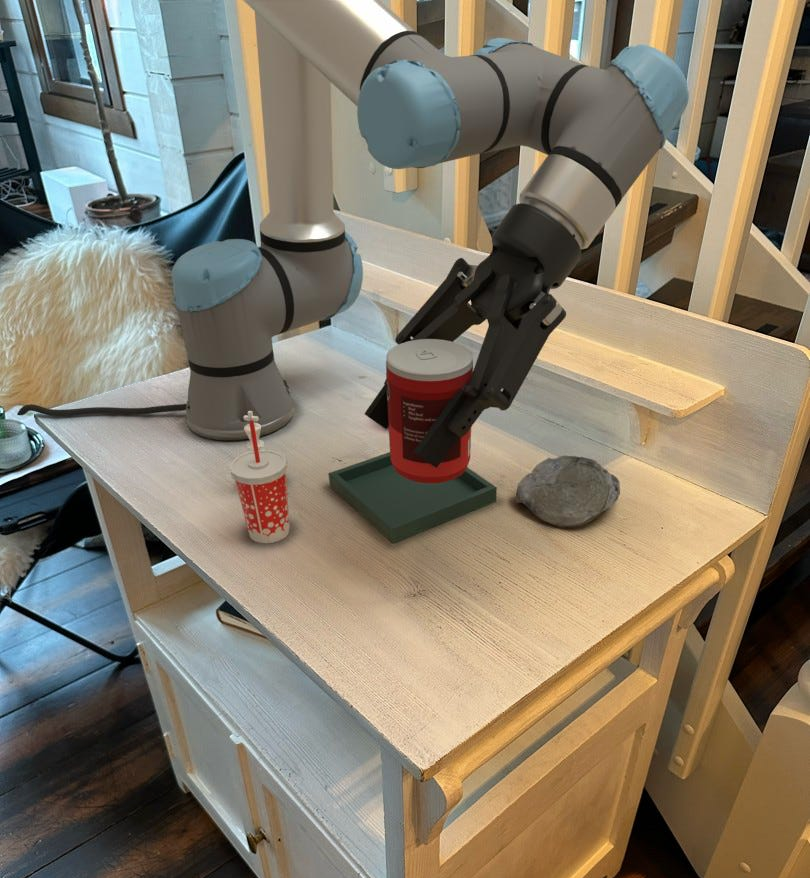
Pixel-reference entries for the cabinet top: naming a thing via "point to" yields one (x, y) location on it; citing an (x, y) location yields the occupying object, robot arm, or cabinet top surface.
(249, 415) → the chess piece
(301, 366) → the cabinet top surface
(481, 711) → the cabinet top surface
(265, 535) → the beverage cup
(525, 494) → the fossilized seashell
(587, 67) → the robot arm
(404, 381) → the canned food
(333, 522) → the cabinet top surface
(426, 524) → the tray
